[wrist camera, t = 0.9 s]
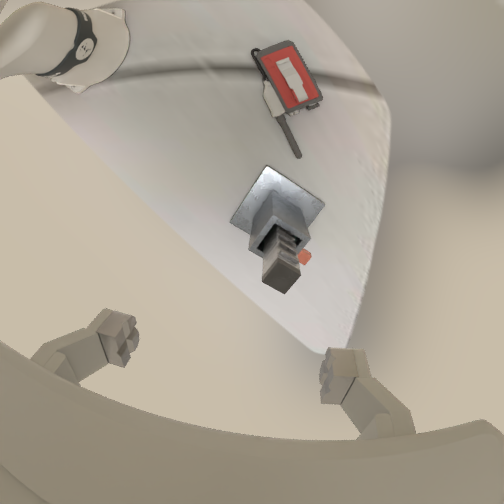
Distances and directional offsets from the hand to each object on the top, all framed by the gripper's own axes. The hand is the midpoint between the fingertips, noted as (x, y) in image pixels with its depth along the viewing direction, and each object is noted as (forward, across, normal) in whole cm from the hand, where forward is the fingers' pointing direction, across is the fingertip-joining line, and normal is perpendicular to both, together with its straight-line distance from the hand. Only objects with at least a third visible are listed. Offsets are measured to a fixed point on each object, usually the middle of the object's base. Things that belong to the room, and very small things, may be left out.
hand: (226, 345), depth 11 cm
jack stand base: (+39, -1, +6) cm, 40 cm away
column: (+38, -1, +6) cm, 38 cm away
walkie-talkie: (+39, -2, -15) cm, 41 cm away
